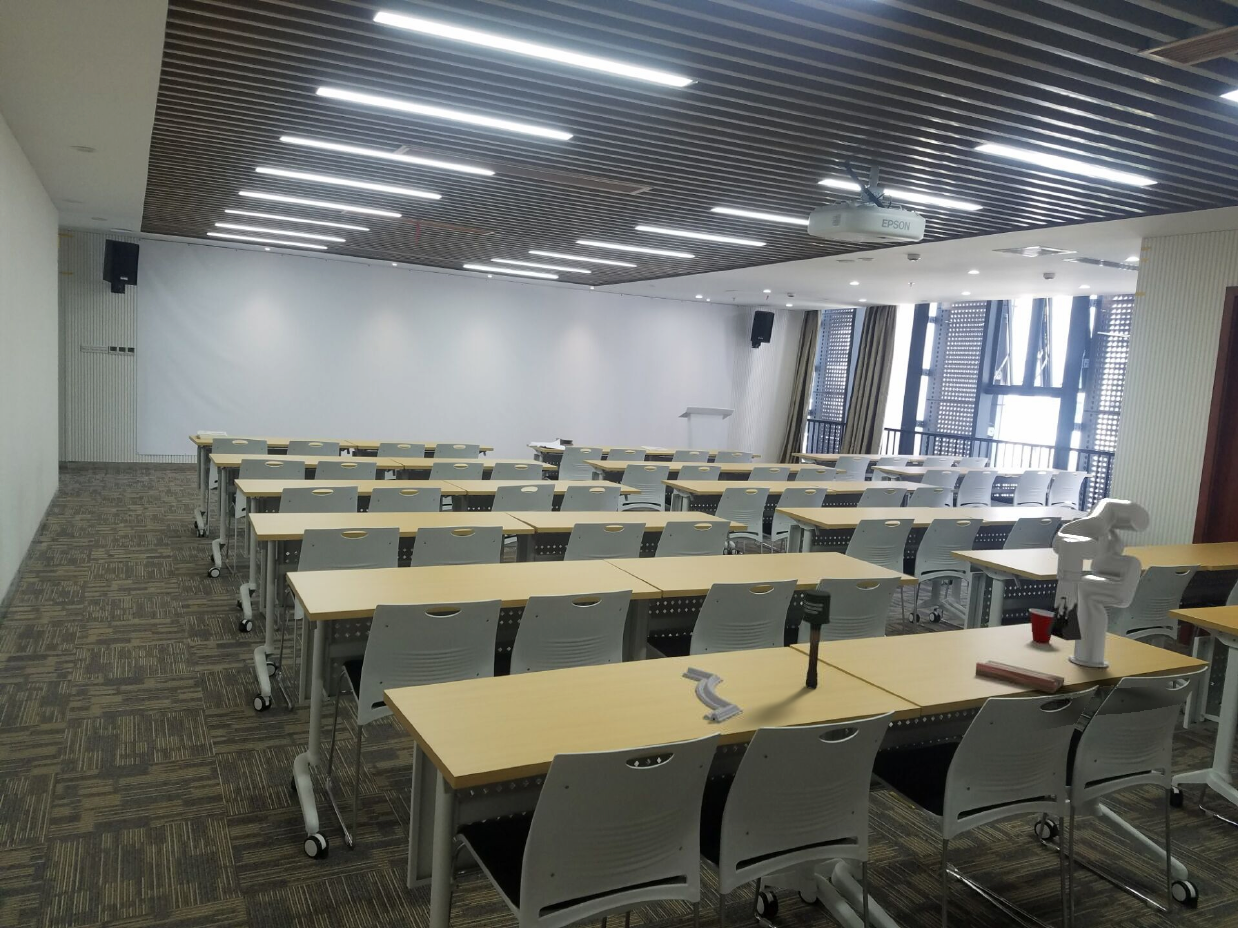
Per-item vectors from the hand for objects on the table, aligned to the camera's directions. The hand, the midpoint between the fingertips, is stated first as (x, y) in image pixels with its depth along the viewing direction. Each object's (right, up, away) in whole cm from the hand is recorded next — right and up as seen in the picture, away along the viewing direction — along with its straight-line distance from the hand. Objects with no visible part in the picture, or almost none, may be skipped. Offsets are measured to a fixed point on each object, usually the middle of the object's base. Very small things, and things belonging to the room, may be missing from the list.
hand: (1064, 627), depth 292 cm
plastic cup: (+15, -14, +46) cm, 50 cm away
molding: (-125, -14, -35) cm, 131 cm away
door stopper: (0, -3, 0) cm, 3 cm away
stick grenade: (-91, -14, -23) cm, 94 cm away
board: (-17, -17, -4) cm, 24 cm away
